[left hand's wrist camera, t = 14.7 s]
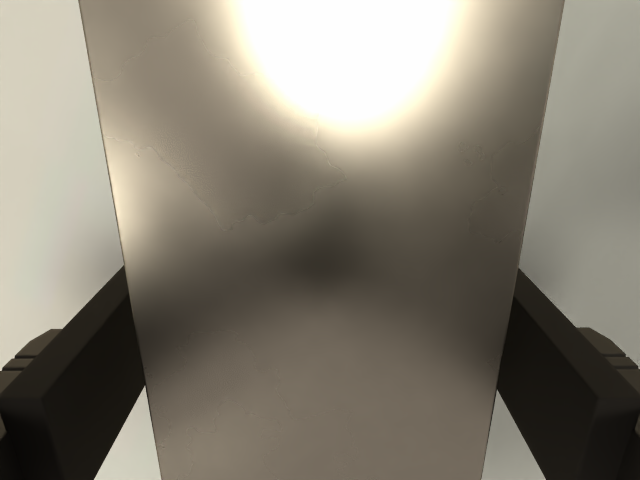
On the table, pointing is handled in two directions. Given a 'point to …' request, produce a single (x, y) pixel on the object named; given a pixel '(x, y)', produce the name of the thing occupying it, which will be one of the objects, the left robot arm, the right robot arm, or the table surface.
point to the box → (321, 223)
